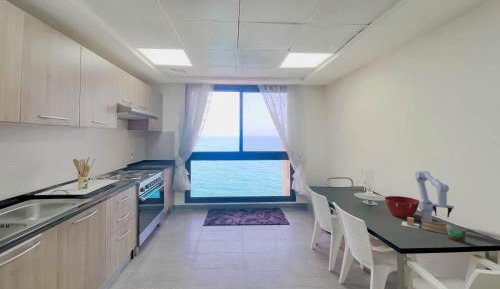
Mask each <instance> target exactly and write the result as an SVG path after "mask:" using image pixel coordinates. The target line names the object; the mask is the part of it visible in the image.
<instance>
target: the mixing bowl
mask: <svg viewBox="0 0 500 289" xmlns="http://www.w3.org/2000/svg"><path fill="white" fill-rule="evenodd" d="M384 199H385V200H384V201H385V204H386V206H387V209H388V211H389V212H390V213H391V214H392V215H393V216H395V217H397V218H405V219H407V217H411V218H412V216H414V215H415V213H416V212H417V210H418V208H419V202H420V201H421V200H419V199H416V198H412V197H407V196H400V195H389V196H385V197H384Z"/></svg>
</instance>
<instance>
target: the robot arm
mask: <svg viewBox="0 0 500 289" xmlns="http://www.w3.org/2000/svg"><path fill="white" fill-rule="evenodd" d="M414 176H415V180H416V182H417V186H418V190H419V191H418V192H419V194H420V199H421V200H419V201H420V202H419V206H418V208H419V210H420V211H421V218H420V222H421V223H422V220H425V221H431V222H433V220H432V216H433V215H432V214H433V212H434V214H435V216H436V217H437V216H438V215H437V208H444V209H447V214H446V216H447V218H450V215H451V212H452V210H455V207H454V206H453V205H449V204H447V201H448V200H447V199H448V192H449V190H450V188H449V186H448V184H446V183H445V184H444V183H443V182H441V181H440V180H439V179H437V178H435V177H433V176H432V175H431V172H430V171H428V170H425V171H424V170H422V171H421V170H417V171H415V173H414ZM427 181H429V182H431V185H432V186H433V187H434V188H435V190H436V194H437V203H433V202H432V201H431V199H429V195H428V191H427V188H426V183H425V182H427Z"/></svg>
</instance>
